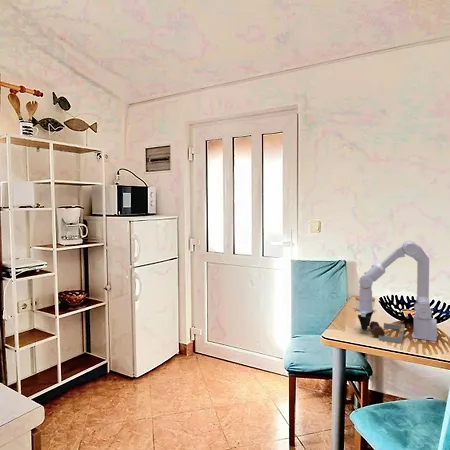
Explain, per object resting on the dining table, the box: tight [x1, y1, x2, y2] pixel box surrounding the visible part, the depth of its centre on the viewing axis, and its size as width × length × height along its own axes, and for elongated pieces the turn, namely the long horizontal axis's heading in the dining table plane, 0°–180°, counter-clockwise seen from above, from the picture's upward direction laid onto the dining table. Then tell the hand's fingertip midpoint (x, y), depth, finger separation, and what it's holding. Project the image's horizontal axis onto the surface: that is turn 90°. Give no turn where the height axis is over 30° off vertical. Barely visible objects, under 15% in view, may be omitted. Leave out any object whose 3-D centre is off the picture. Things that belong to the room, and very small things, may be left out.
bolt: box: [368, 320, 386, 339], centre depth 171 cm, size 6×5×15 cm
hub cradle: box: [378, 322, 405, 344], centre depth 168 cm, size 9×21×3 cm, turn 150°
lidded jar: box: [354, 295, 376, 310], centre depth 209 cm, size 11×11×9 cm
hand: (365, 327), depth 173 cm, fingers open, 7 cm apart
